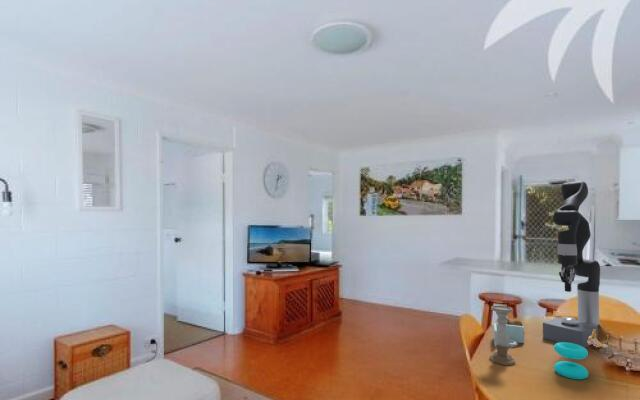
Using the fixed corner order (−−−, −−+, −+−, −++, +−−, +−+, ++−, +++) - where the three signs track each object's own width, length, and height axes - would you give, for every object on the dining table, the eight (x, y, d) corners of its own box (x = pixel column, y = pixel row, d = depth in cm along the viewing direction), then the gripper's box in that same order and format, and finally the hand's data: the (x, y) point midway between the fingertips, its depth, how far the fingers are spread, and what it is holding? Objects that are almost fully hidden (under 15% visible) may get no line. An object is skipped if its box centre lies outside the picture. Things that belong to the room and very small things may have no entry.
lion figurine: (504, 338, 168) (504, 318, 169) (495, 334, 173) (495, 315, 173) (528, 334, 174) (527, 315, 174) (518, 331, 178) (518, 312, 179)
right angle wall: (494, 348, 157) (494, 330, 157) (494, 339, 168) (493, 323, 168) (526, 352, 152) (526, 334, 152) (523, 343, 163) (523, 326, 163)
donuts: (586, 353, 123) (552, 346, 130) (587, 383, 123) (552, 375, 129) (588, 345, 131) (555, 339, 138) (589, 373, 131) (556, 366, 137)
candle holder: (512, 367, 135) (512, 312, 136) (487, 361, 141) (486, 308, 141) (516, 360, 142) (516, 307, 143) (492, 354, 148) (492, 303, 148)
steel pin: (565, 334, 171) (565, 315, 171) (581, 338, 166) (580, 319, 166) (559, 336, 168) (558, 318, 168) (575, 340, 162) (574, 321, 163)
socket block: (558, 332, 178) (558, 317, 178) (597, 341, 165) (597, 325, 165) (542, 338, 169) (542, 322, 169) (583, 348, 155) (582, 332, 156)
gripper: (564, 252, 177) (565, 288, 176) (551, 253, 169) (552, 291, 168) (582, 253, 170) (583, 291, 170) (570, 255, 163) (571, 294, 162)
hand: (568, 291), depth 169 cm, fingers closed
